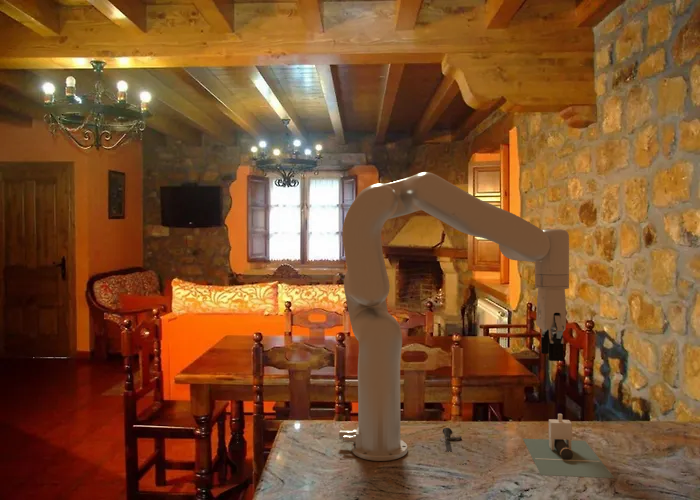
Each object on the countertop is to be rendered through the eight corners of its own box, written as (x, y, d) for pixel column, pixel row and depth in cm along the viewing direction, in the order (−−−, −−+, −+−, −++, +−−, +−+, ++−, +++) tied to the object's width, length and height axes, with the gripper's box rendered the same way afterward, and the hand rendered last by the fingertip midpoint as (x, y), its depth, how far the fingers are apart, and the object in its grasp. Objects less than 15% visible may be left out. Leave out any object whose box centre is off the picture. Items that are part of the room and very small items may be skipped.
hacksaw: (442, 432, 140) (442, 426, 140) (484, 433, 139) (484, 427, 138) (449, 473, 116) (449, 466, 116) (500, 474, 115) (500, 467, 114)
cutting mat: (540, 478, 111) (540, 474, 111) (522, 441, 131) (522, 438, 131) (614, 482, 110) (614, 477, 110) (585, 444, 130) (585, 440, 130)
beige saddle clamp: (551, 449, 124) (551, 415, 123) (548, 445, 126) (548, 412, 126) (571, 450, 123) (571, 416, 123) (568, 446, 125) (569, 412, 125)
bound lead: (560, 460, 119) (560, 448, 119) (550, 442, 129) (550, 432, 129) (573, 460, 118) (573, 449, 118) (561, 443, 128) (561, 432, 128)
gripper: (528, 278, 141) (528, 349, 141) (543, 285, 123) (543, 365, 124) (559, 278, 140) (559, 349, 140) (578, 285, 122) (578, 366, 123)
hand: (551, 356), depth 132 cm, fingers open, 7 cm apart
